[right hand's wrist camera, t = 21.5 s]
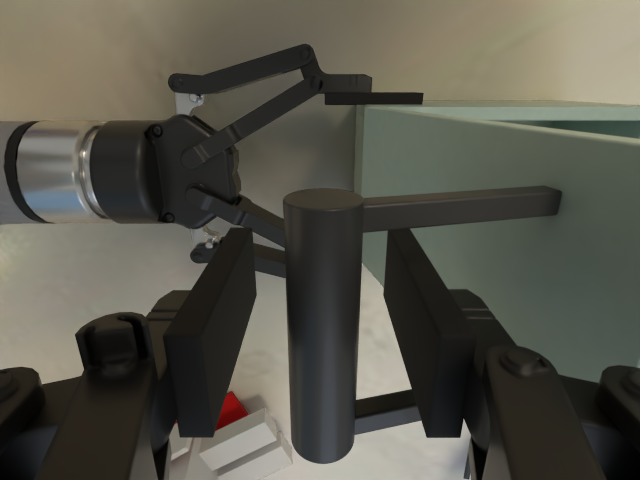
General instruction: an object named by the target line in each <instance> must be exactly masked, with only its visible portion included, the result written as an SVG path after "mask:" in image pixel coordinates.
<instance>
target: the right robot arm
mask: <svg viewBox="0 0 640 480" xmlns="http://www.w3.org/2000/svg"><path fill="white" fill-rule="evenodd" d="M255 299H256V279H255V264H254V249H253V234H252V228H230V230H229V231H228V233H227V234H226V236H225V238H224V239H223V241H222V242H221V244H220V246H219V247H218V249H217V250H216V252H215V253H214V255H213V257H212V258H211V260H210V261H209V263H208V265H207V266H206V268H205V269H204V271H203V272H202V274H201V276H200V277H199V279H198V280H197V282H196V284H195V285H194V287H193V288H192V290H173V291H171V292H170V293H168V294H167V295H165V296H164V297H162V298H161V299H159V300H158V302H157V303H156V304H155V306H154V307H153V308H152V310H151V312H149V314H148V315H147V316H146V317H145V316H143V315H142V314H138V313H134V312H120V313H115V314H110V315H105V316H103V317H100V318H98V319H95V320H92V321H91V322H89V323H88V324H86V325H84V326H83V327H81V329H80V330H79V331H78V332H77V333H76V334H75V337H76V340H77V344H78V348H79V352H80V355H81V359H82V363H83V367H84V371H83V373H82V376H79V377H75V378H71V379H67V380H62V381H57V382H52V383H47V384H42V383H41V380H40V377H39V374H38V373H37V372H36V371H35V370H34V369H32V368H26V367H16V368H7V369H3V370H0V480H169V473H170V464H171V456H172V451H171V444H170V439H169V436H170V433H171V431H172V429H173V426H174V424H175V422H176V419H177V424H178V430H179V436H180V438H213V437H214V433H215V430H216V427H217V423H218V420H219V417H220V414H221V410H222V407H223V404H224V400H225V397H226V394H227V391H228V387H229V384H230V381H231V377H232V374H233V371H234V368H235V364H236V361H237V358H238V354H239V351H240V348H241V345H242V341H243V338H244V335H245V331H246V328H247V325H248V322H249V318H250V315H251V312H252V308H253V305H254V302H255ZM384 299H385V302H386V305H387V308H388V312H389V315H390V318H391V322H392V325H393V328H394V331H395V335H396V338H397V341H398V345H399V348H400V351H401V354H402V358H403V361H404V364H405V368H406V371H407V374H408V377H409V381H410V384H411V387H412V391H413V394H414V397H415V400H416V404H417V407H418V410H419V414H420V417H421V420H422V423H423V427H424V430H425V433H426V437H427V438H460V436H461V430H462V424H463V418H464V420H465V422H466V424H467V427H468V429H469V431H470V434H471V439H470V444H469V450H468V455H467V461H466V466H465V472H464V478H465V479H469V477H470V472H471V480H640V368H637V367H632V366H623V365H616V366H609V367H607V368H606V369H605V370H603V371H602V374H601V377H600V380H599V383H597V382H592V381H587V380H582V379H577V378H572V377H567V376H564V375H560V374H558V373H557V370H556V369H555V367H554V366H553V365H552V363H551V362H550V361H549V360H548V359H546V358H545V357H544V356H542V355H541V354H539V353H537V352H535V351H533V350H530V349H528V348H525V347H521V346H517V345H516V343H515V342H514V341H513V339H512V338H511V337H510V336H509V334H508V333H507V332H506V330H505V329H504V328H503V326H502V325H501V324H500V322H499V321H498V320H497V319H496V317H495V316H494V314H493V313H492V312H491V311H489V308H488V307H487V305H486V304H485V303H484V301H483V300H482V299H481V298H480V297H479V296H477V295H475V294H474V293H472V292H471V291H469V290H468V289H448V288H447V287H446V285H445V284H444V282H443V280H442V279H441V277H440V276H439V274H438V272H437V271H436V269H435V268H434V266H433V265H432V263H431V261H430V260H429V258H428V257H427V255H426V253H425V252H424V250H423V249H422V247H421V246H420V244H419V242H418V241H417V239H416V238H415V236H414V234H413V233H412V231H411V230H410V229H400V230H389V231H388V234H387V249H386V264H385V279H384Z"/></svg>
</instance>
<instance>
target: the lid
mask: <svg viewBox="0 0 640 480" xmlns="http://www.w3.org/2000/svg"><path fill="white" fill-rule="evenodd" d="M283 209H284V238H285V268H286V297H287V326H288V356H289V385H290V414H291V440H292V444H293V447H294V449H295V450H296V451H297V453H298V454H299V455H300V456H301V457H303V458H304V459H306V460H308V461H310V462H313V463H318V464H327V463H332V462H336V461H338V460H340V459H342V458H343V457H344V456H346V455H347V454H348V453H349V451H350V450H351V448H352V446H353V443H354V435H357V434H361V433H366V432H371V431H375V430H380V429H384V428H389V427H394V426H398V425H403V424H407V423H412V422H417V421H421V417H420V414H419V410H418V407H417V404H416V400H415V397H414V394H413V391H412V389H410V390H405V391H400V392H395V393H390V394H385V395H380V396H374V397H369V398H364V399H359V400H356V386H357V362H358V339H359V315H360V292H361V268H362V263H363V264H364V265H365V266H366V268H367V269H368V270H369V271H370V272H371V273H372V275H373V276H374V277H375V278H376V279H377V280H378V282H379V283H380V284H381V285H382V286H383V287H384V279H385V264H386V249H387V234H388V231H389V230H400V229H410V230H411V231H412V233H413V234H414V236H415V238H416V239H417V241H418V242H419V244H420V246H421V247H422V249H423V250H424V252H425V253H426V255H427V257H428V258H429V260H430V261H431V263H432V265H433V266H434V268H435V269H436V271H437V272H438V274H439V276H440V277H441V279H442V280H443V282H444V284H445V285H446V287H447V288H448V289H468V290H469V291H471V292H472V293H474V294H475V295H477V296H479V297H480V298H481V299H482V300H483V301H484V303H485V304H486V305H487V307H488V308H489V311H491V312H492V313H493V314H494V316H495V317H496V319H497V320H498V321H499V322H500V324H501V325H502V326H503V328H504V329H505V330H506V332H507V333H508V334H509V336H510V337H511V338H512V339H513V341H514V342H515V343H516V345H517V346H521V347H525V348H528V349H530V350H533V351H535V352H537V353H539V354H541V355H542V356H544V357H545V358H546V359H548V360H549V361H550V362H551V363H552V365H553V366H554V367H555V369H556V370H557V373H558V374H560V375H564V376H567V377H572V378H577V379H582V380H587V381H592V382H597V383H599V380H600V377H601V374H602V371H603V370H605V369H606V368H607V367H609V366H616V365H623V366H632V367H637V368H640V139H636V138H628V137H620V136H612V135H604V134H595V133H587V132H579V131H571V130H563V129H554V128H546V127H538V126H530V125H522V124H513V123H505V122H497V121H489V120H480V119H472V118H464V117H456V116H448V115H439V114H431V113H423V112H415V111H407V110H398V109H390V108H382V107H365V113H364V138H363V164H362V189H361V195H359V194H357V193H354V192H351V191H346V190H340V189H325V188H322V189H307V190H301V191H296V192H293V193H290V194H288V195H286V196H285V197H284V200H283Z"/></svg>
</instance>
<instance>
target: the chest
mask: <svg viewBox="0 0 640 480" xmlns="http://www.w3.org/2000/svg"><path fill="white" fill-rule="evenodd" d="M365 107H382V108H390V109H398V110H407V111H415V112H423V113H431V114H439V115H448V116H456V117H464V118H472V119H480V120H489V121H497V122H505V123H513V124H522V125H530V126H538V127H546V128H554V129H563V130H571V131H579V132H587V133H595V134H604V135H612V136H620V137H628V138H636V139H640V105H623V104H606V103H590V102H573V101H423V103H422V105H356V135H355V167H354V193H357V194H359V195H361V189H362V164H363V138H364V113H365Z"/></svg>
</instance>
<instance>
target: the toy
mask: <svg viewBox="0 0 640 480" xmlns="http://www.w3.org/2000/svg"><path fill="white" fill-rule="evenodd" d="M169 439H170V444H171V451H172V456H171V464H170V473H169V480H259V479H261V478H263V477H266V476H268V475H270V474H272V473H274V472H276V471H278V470H280V469H282V468H284V467H286V466H288V465H290V464H293V461H292V447H291V446H290V444H289V443H288V441H287V440H286V438H285V437H284V435H283V434H282V432H281V431H279V432H277V427H276V423H275V422H274V420H273V419H272V417H271V416H270V414H269V413H268V411H267V410H266V408H265V407H264V408H262V409H260V410H258V411H256V412H254V413H252V414H250V415H249V414H248V413H247V412H246V410H245V409H244V407H243V406H242V405H241V403H240V402H239V401H238V399H237V398H236V396H235V395H234V394H233V392H231V393H229V394H227V395H226V397H225V400H224V404H223V407H222V410H221V414H220V417H219V420H218V423H217V427H216V430H215V433H214V437H213V438H180V436H179V430H178V424H177V421H176V422H175V424H174V426H173V429H172V431H171V433H170V436H169Z"/></svg>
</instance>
